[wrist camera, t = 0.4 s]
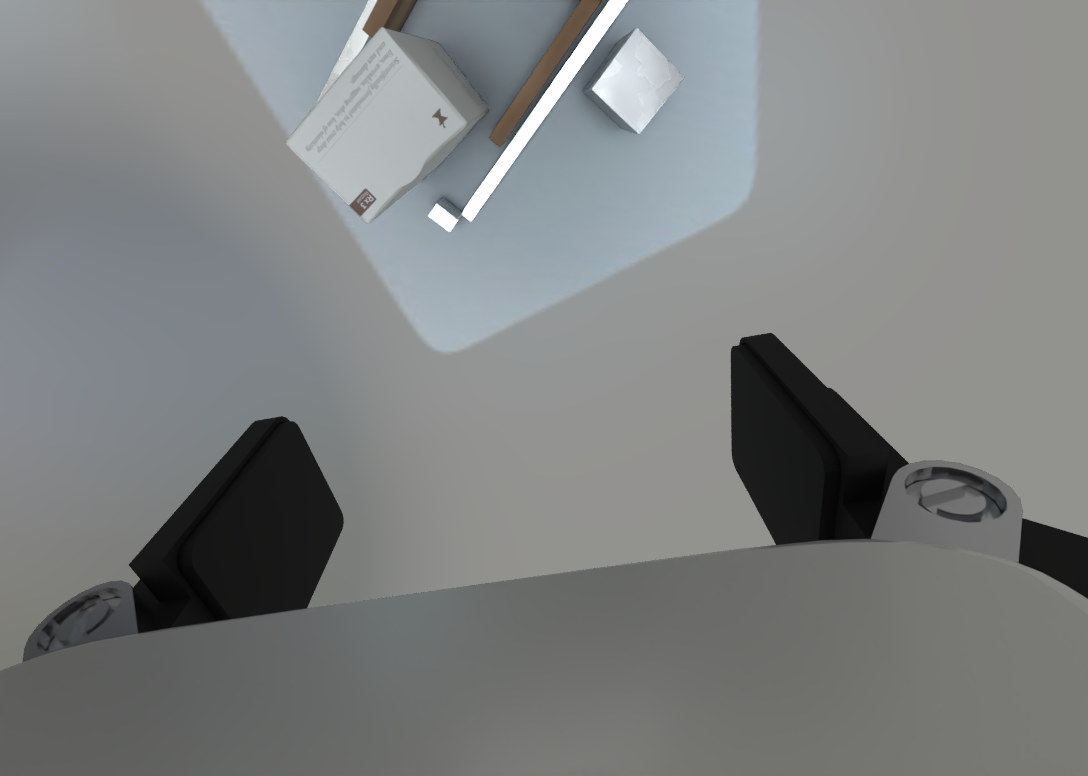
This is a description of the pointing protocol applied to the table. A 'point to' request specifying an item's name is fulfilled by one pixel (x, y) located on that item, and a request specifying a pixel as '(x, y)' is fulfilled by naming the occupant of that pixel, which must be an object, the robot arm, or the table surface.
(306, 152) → the skincare box
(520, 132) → the rail
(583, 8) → the cradle
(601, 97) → the gray rectangular block
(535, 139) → the table surface
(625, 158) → the table surface
